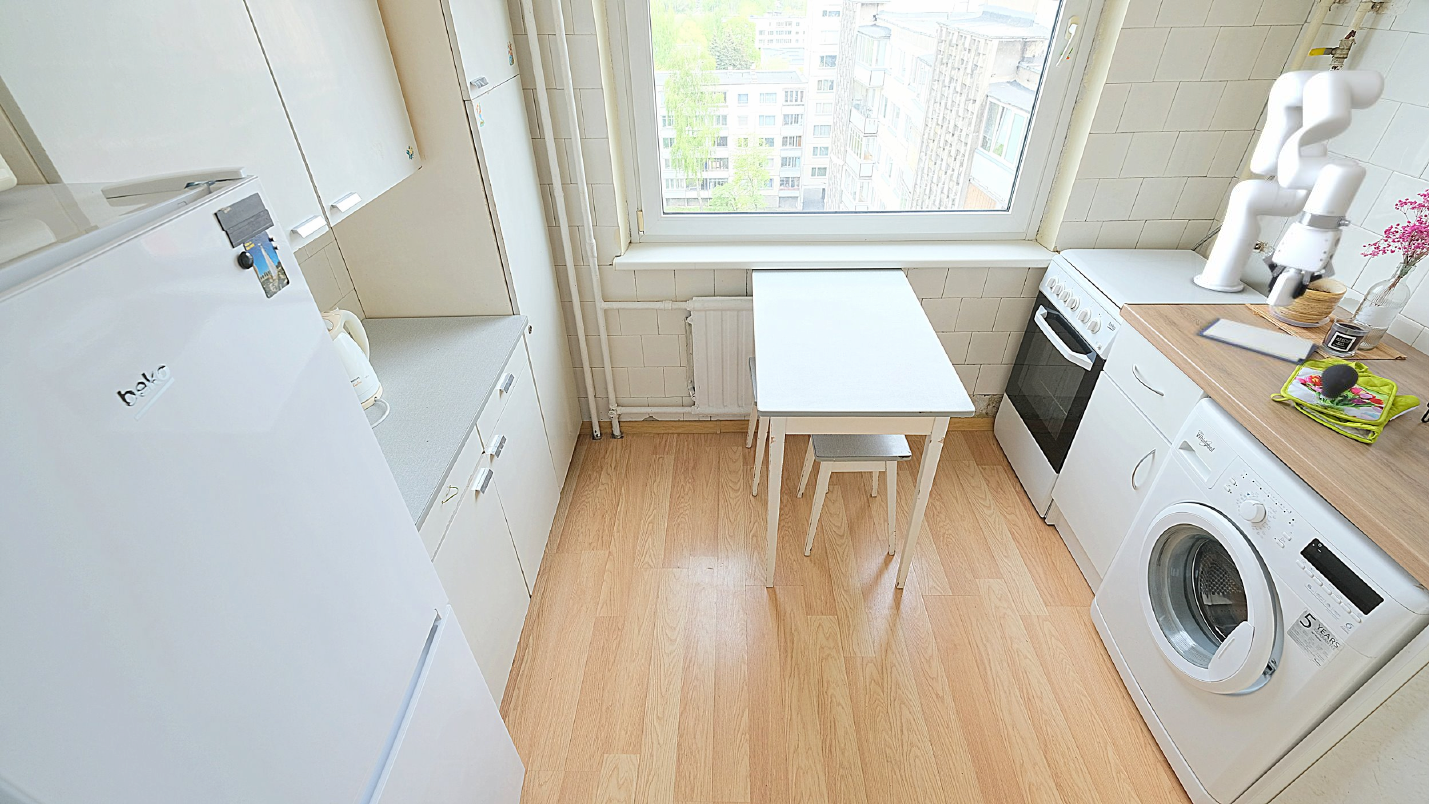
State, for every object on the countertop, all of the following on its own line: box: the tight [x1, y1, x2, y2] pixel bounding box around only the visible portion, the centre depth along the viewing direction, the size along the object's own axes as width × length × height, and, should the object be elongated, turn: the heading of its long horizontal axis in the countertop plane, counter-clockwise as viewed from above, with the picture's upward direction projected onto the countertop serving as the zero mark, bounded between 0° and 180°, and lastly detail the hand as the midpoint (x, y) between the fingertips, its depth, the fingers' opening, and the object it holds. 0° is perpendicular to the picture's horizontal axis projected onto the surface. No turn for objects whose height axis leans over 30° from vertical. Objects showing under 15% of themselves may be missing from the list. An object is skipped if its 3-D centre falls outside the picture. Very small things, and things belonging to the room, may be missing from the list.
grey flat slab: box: [1196, 318, 1319, 366], centre depth 165 cm, size 16×22×1 cm
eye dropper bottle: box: [1266, 267, 1304, 308], centre depth 155 cm, size 4×6×12 cm
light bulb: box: [1316, 363, 1359, 408], centre depth 135 cm, size 6×6×10 cm
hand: (1284, 294), depth 157 cm, fingers closed on eye dropper bottle, 4 cm apart
